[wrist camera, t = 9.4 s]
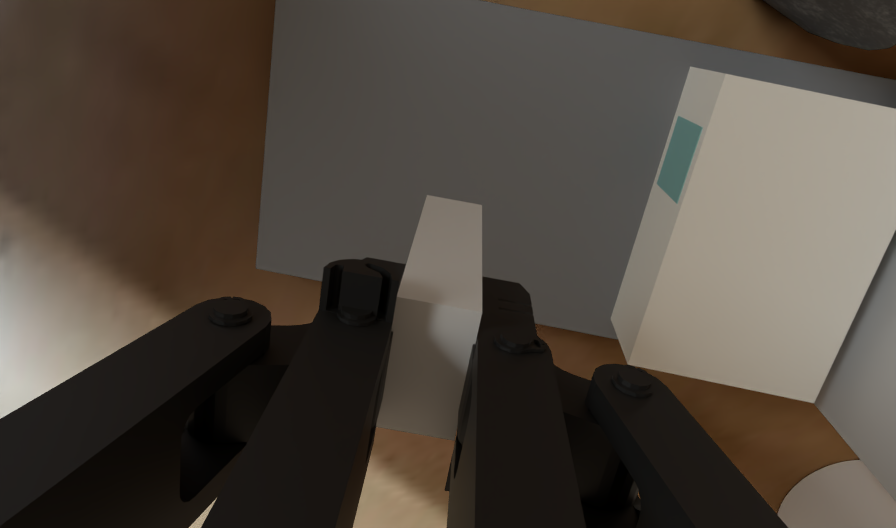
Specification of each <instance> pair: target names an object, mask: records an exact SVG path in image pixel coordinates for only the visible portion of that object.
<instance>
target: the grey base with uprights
mask: <svg viewBox="0 0 896 528" xmlns="http://www.w3.org/2000/svg"><path fill="white" fill-rule="evenodd" d="M690 66H691V67H695V68H700V69H705V70H710V71H715V72H720V73H725V74H730V75H734V76H739V77H744V78H749V79H754V80H759V81H763V82H768V83H773V84H778V85H783V86H788V87H793V88H797V89H802V90H807V91H812V92H817V93H822V94H827V95H831V96H836V97H841V98H846V99H851V100H856V101H860V102H865V103H870V104H875V105H880V106H885V107H890V108H894V109H896V80H892V79H887V78H882V77H877V76H871V75H866V74H861V73H856V72H851V71H845V70H840V69H835V68H830V67H825V66H819V65H814V64H809V63H804V62H799V61H793V60H788V59H783V58H778V57H772V56H767V55H762V54H757V53H752V52H746V51H741V50H736V49H731V48H726V47H720V46H715V45H710V44H705V43H700V42H694V41H689V40H684V39H679V38H673V37H668V36H663V35H658V34H653V33H647V32H642V31H637V30H632V29H627V28H621V27H616V26H611V25H606V24H601V23H595V22H590V21H585V20H580V19H574V18H569V17H564V16H559V15H554V14H548V13H543V12H538V11H533V10H528V9H522V8H517V7H512V6H507V5H502V4H496V3H491V2H486V1H481V0H276V4H275V18H274V31H273V44H272V58H271V71H270V84H269V97H268V111H267V124H266V137H265V151H264V164H263V177H262V191H261V204H260V217H259V231H258V244H257V257H256V269H261V270H266V271H271V272H276V273H281V274H286V275H291V276H297V277H302V278H307V279H312V280H317V281H322V278H323V269H324V267H325V266H326V265H327V264H329V263H330V262H333V261H337V260H342V259H360V260H362V259H364V258H366V257H369V258H375V259H380V260H386V261H391V262H397V263H402V264H406V263H407V260H408V257H409V253H410V250H411V247H412V244H413V240H414V237H415V234H416V230H417V227H418V224H419V220H420V217H421V214H422V210H423V207H424V204H425V200H426V197H427V195H430V196H435V197H441V198H446V199H452V200H457V201H463V202H468V203H474V204H479V205H482V276H483V277H489V278H494V279H500V280H505V281H511V282H516V283H520V284H521V285H522V286H523V287H524V288H525V289H526V291H527V292H528V293H529V294H530V298H531V303H532V306H531V307H532V309H533V316H534V321H535V323H536V324H541V325H546V326H551V327H556V328H561V329H566V330H571V331H577V332H582V333H587V334H592V335H597V336H602V337H607V338H612V339H617V340H618V337H617V335H616V332H615V329H614V327H613V324H612V321H611V316H612V313H613V309H614V306H615V303H616V300H617V297H618V294H619V290H620V287H621V284H622V281H623V278H624V275H625V271H626V268H627V265H628V262H629V259H630V256H631V252H632V249H633V246H634V243H635V240H636V237H637V233H638V230H639V227H640V224H641V221H642V218H643V214H644V211H645V208H646V205H647V202H648V199H649V196H650V192H651V189H652V186H653V183H654V180H655V177H656V173H657V170H658V167H659V164H660V161H661V158H662V154H663V151H664V148H665V145H666V142H667V139H668V135H669V132H670V129H671V126H672V123H673V120H674V116H675V113H676V110H677V107H678V104H679V101H680V98H681V94H682V91H683V88H684V85H685V82H686V79H687V75H688V72H689V69H690ZM814 404H815V406H816V407H817V408H818V409H819V410H820V412H821V413H822V414H823V415H824V416H825V418H826V419H827V420H828V421H829V422H830V424H831V425H832V426H833V427H834V428H835V430H836V431H837V432H838V433H839V434H840V436H841V437H842V438H843V439H844V440H845V442H846V443H847V444H848V445H849V446H850V448H851V449H852V450H853V451H854V452H855V454H856V455H857V456H858V457H859V458H860V460H861V461H862V462H863V463H864V464H865V466H866V467H867V468H868V469H869V470H870V472H871V473H872V474H873V475H874V476H875V478H876V479H877V480H878V481H879V482H880V484H881V485H882V486H883V487H884V488H885V490H886V491H887V492H888V493H889V494H890V496H891V497H892V498H893V499H894V500H895V502H896V230H895V232H894V234H893V236H892V239H891V241H890V243H889V245H888V247H887V249H886V251H885V253H884V256H883V258H882V260H881V262H880V264H879V266H878V268H877V270H876V273H875V275H874V277H873V279H872V281H871V283H870V285H869V287H868V290H867V292H866V294H865V296H864V298H863V300H862V302H861V304H860V307H859V309H858V311H857V313H856V315H855V317H854V319H853V321H852V324H851V326H850V328H849V330H848V332H847V334H846V336H845V339H844V341H843V343H842V345H841V347H840V349H839V351H838V353H837V356H836V358H835V360H834V362H833V364H832V366H831V368H830V370H829V373H828V375H827V377H826V379H825V381H824V383H823V385H822V387H821V390H820V392H819V394H818V396H817V398H816V400H815V402H814Z"/></svg>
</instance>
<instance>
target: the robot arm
mask: <svg viewBox="0 0 896 528" xmlns="http://www.w3.org/2000/svg"><path fill="white" fill-rule="evenodd" d="M531 306H532V303H531V298H530V294H529V293H528V292H527V291H526V289H525V288H524V287H523V286H522V285H521V284H520V283H516V282H511V281H505V280H500V279H494V278H489V277H483V276H482V205H479V204H474V203H468V202H463V201H457V200H452V199H446V198H441V197H435V196H430V195H427V197H426V200H425V204H424V207H423V210H422V214H421V217H420V220H419V224H418V227H417V230H416V234H415V237H414V240H413V244H412V247H411V250H410V253H409V257H408V260H407V263H406V264H402V263H397V262H391V261H386V260H380V259H375V258H369V257H366V258H364V259H362V260H360V259H342V260H337V261H333V262H330V263H329V264H327V265H326V266H325V267H324V269H323V278H322V287H321V296H320V305H319V311H318V313H317V314H316V316H315V318H314V320H313V322H312V323H309V324H303V325H292V326H271V312H270V311H269V310H268V309H267V308H266V307H265V306H263V305H261V304H259V303H256V302H254V301H251V300H246V299H243V298H240V297H233V298H231V297H221V298H218V299H211V300H207V301H204V302H202V303H199V304H197V305H195V306H193V307H191V308H190V309H188V310H186V311H185V312H183V313H181V314H179V315H178V316H176V317H174V318H173V319H171V320H169V321H167V322H166V323H164V324H162V325H161V326H159V327H157V328H155V329H154V330H152V331H150V332H149V333H147V334H145V335H143V336H142V337H140V338H138V339H137V340H135V341H133V342H131V343H130V344H128V345H126V346H125V347H123V348H121V349H119V350H118V351H116V352H114V353H113V354H111V355H109V356H107V357H106V358H104V359H102V360H101V361H99V362H97V363H95V364H94V365H92V366H90V367H89V368H87V369H85V370H83V371H82V372H80V373H78V374H77V375H75V376H73V377H71V378H70V379H68V380H66V381H65V382H63V383H61V384H59V385H58V386H56V387H54V388H53V389H51V390H49V391H47V392H46V393H44V394H42V395H41V396H39V397H37V398H35V399H34V400H32V401H30V402H29V403H27V404H25V405H23V406H22V407H20V408H18V409H17V410H15V411H13V412H11V413H10V414H8V415H6V416H5V417H3V418H1V419H0V528H189V527H190V526H191V524H192V523H193V522H194V521H195V520H196V519H197V518H198V517H199V516H200V515H201V514H202V513H203V512H204V511H205V510H206V509H207V507H208V506H209V505H210V504H211V503H212V502H213V501H214V500H215V499H216V498H217V499H216V501H215V503H214V505H213V507H212V508H211V510H210V512H209V514H208V516H207V518H206V520H205V521H204V523H203V525H202V527H201V528H353V524H354V520H355V516H356V511H357V507H358V503H359V499H360V495H361V491H362V487H363V483H364V479H365V475H366V471H367V467H368V463H369V459H370V455H371V451H372V447H373V442H374V436H375V430H376V427H380V428H386V429H391V430H397V431H403V432H408V433H414V434H420V435H425V436H431V437H437V438H442V439H448V440H455V435H456V430H457V436H456V440H455V445H454V450H453V454H452V459H451V463H450V468H449V472H448V477H447V482H446V486H445V491H449V504H448V518H447V528H788V527H787V526H786V524H785V523H784V522H783V521H782V520H781V519H780V517H779V516H778V515H777V514H776V513H775V512H774V510H773V509H772V508H771V507H770V506H769V505H768V503H767V502H766V501H765V500H764V499H763V498H762V497H761V495H760V494H759V493H758V492H757V491H756V490H755V488H754V487H753V486H752V485H751V484H750V483H749V481H748V480H747V479H746V478H745V477H744V476H743V474H742V473H741V472H740V471H739V470H738V469H737V468H736V466H735V465H734V464H733V463H732V462H731V461H730V459H729V458H728V457H727V456H726V455H725V454H724V452H723V451H722V450H721V449H720V448H719V447H718V445H717V444H716V443H715V442H714V441H713V440H712V438H711V437H710V436H709V435H708V434H707V433H706V432H705V430H704V429H703V428H702V427H701V426H700V425H699V423H698V422H697V421H696V420H695V419H694V418H693V416H692V415H691V414H690V413H689V412H688V411H687V409H686V408H685V407H684V406H683V405H682V404H681V402H680V401H679V400H678V399H677V398H676V397H675V396H674V394H673V393H672V392H671V391H670V390H669V389H668V387H667V386H666V385H664V384H663V383H662V382H661V381H660V380H659V379H657V378H656V377H654V376H652V375H650V374H648V373H647V372H646V371H645V370H642V369H640V368H635V367H634V366H630V365H620V364H606V365H602V366H600V367H598V368H596V369H595V371H594V374H593V377H592V380H591V381H590V380H587V379H584V378H581V377H578V376H576V375H573V374H571V373H568V372H566V371H564V370H562V369H560V368H558V367H556V366H555V365H554V364H553V359H552V354H551V350H550V349H549V347H548V345H547V343H545V342H544V341H543V340H542V339H540V338H539V337H538V336H537V332H536V327H535V321H534V316H533V309H532V307H531ZM457 426H458V427H457ZM638 491H639V494H640V498H639V497H638V495H637V494H638ZM640 499H641V500H640Z"/></svg>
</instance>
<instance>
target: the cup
mask: <svg viewBox="0 0 896 528" xmlns="http://www.w3.org/2000/svg"><path fill="white" fill-rule="evenodd" d="M777 515H778V516H779V517H780V519H781V520H782V521H783V522H784V523H785V524H786V526H787V527H788V528H896V502H895V500H894V499H893V498H892V497H891V496H890V494H889V493H888V492H887V491H886V490H885V488H884V487H883V486H882V485H881V484H880V482H879V481H878V480H877V479H876V478H875V476H874V475H873V474H872V473H871V472H870V470H869V469H868V468H867V467H866V466H865V464H864V463H863V462H862V461H861V460H851V461H845V462H840V463H836V464H832V465H829V466H827V467H824V468H822V469H819V470H817V471H815V472H813V473H812V474H810V475H808V476H807V477H805V478H804V479H802V480H801V481H800V482H799V483H797V484H796V485H795V486H794V487H793V488H792V489H791V491H790V492H789V493H788V494H787V496H786V497H785V498H784V500H783V502H782V503H781V506H780V508H779V511H778V514H777Z"/></svg>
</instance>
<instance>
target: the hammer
mask: <svg viewBox="0 0 896 528" xmlns="http://www.w3.org/2000/svg"><path fill="white" fill-rule="evenodd" d="M763 1H765V2H766V3H768V4H769V5H770V6H772V7H773V8H775V9H776V10H777V11H779V12H780V13H782V14H783V15H785V16H786V17H787V18H789V19H790V20H792V21H793V22H794V23H796V24H797V25H799V26H800V27H801V28H803V29H804V30H806V31H807V32H809V33H812V34H815V35H817V36H820V37H823V38H825V39H828V40H831V41H833V42H836V43H839V44H843V45H848V46H852V47H856V48H861V49H865V50H876V49H886V48H890V47H892V46H894V45H896V0H763Z"/></svg>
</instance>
